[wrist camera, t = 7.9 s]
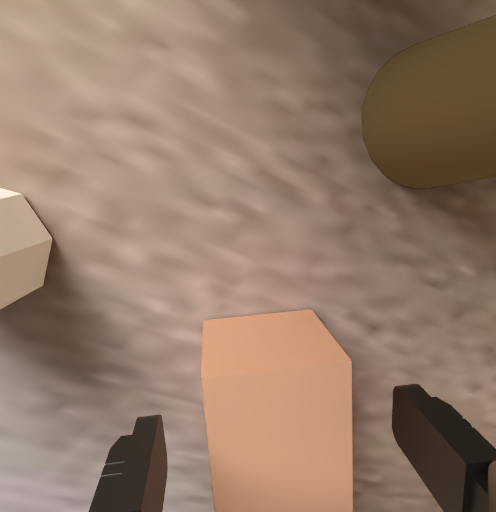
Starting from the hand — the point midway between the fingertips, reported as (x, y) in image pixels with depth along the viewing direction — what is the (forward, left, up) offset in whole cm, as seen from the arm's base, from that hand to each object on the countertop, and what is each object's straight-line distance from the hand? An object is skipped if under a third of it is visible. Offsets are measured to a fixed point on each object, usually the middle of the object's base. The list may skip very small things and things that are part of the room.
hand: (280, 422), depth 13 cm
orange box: (+1, 0, -5) cm, 5 cm away
